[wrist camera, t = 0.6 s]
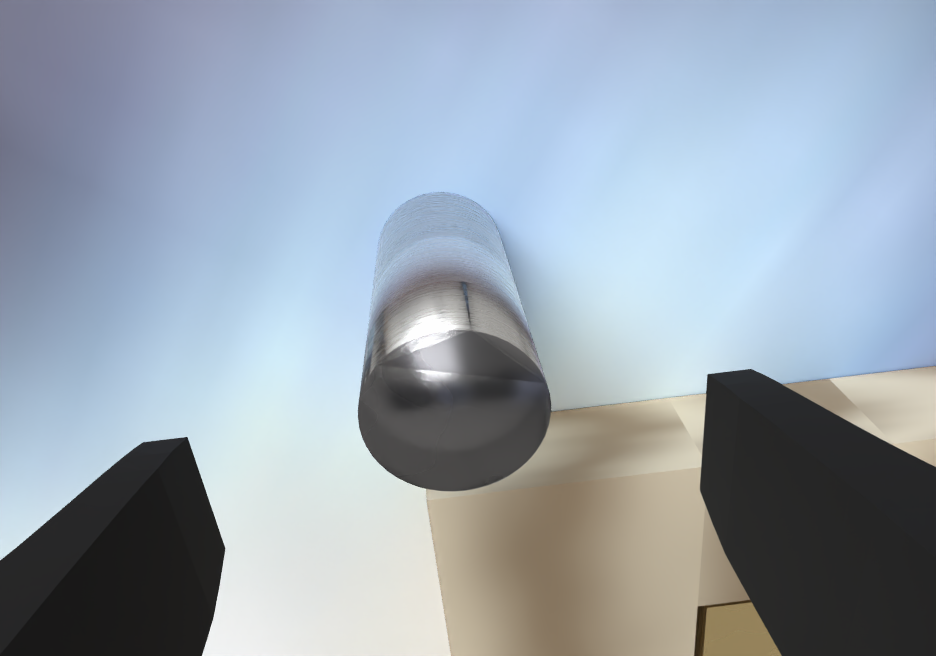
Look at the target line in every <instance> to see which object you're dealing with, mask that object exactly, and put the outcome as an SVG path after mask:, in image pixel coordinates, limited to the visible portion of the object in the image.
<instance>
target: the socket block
mask: <svg viewBox="0 0 936 656" xmlns="http://www.w3.org/2000/svg"><path fill="white" fill-rule="evenodd" d="M782 385H784V386H786V387H788V388H789V389H791V390H793V391H795V392H797V393H799V394H800V395H802V396H804V397H806V398H808V399H809V400H811V401H813V402H815V403H816V404H818V405H820V406H822V407H824V408H825V409H827V410H829V411H831V412H833V413H834V414H836V415H838V416H840V417H842V418H843V419H845V420H847V421H849V422H851V423H853V424H854V425H856V426H858V427H860V428H862V429H864V430H865V431H867V432H869V433H871V434H873V435H875V436H877V437H878V438H880V439H882V440H884V441H886V442H888V443H890V444H892V445H894V446H895V447H897V448H899V449H901V450H903V451H905V452H907V453H909V454H911V455H913V456H915V457H917V458H919V459H921V460H923V461H925V462H927V463H929V464H931V465H933V466H935V467H936V366H932V367H923V368H915V369H907V370H898V371H890V372H882V373H873V374H865V375H856V376H848V377H840V378H831V379H823V380H815V381H806V382H798V383H789V384H782ZM705 405H706V394H697V395H689V396H680V397H672V398H664V399H655V400H647V401H639V402H630V403H622V404H613V405H605V406H597V407H588V408H580V409H572V410H563V411H555V412H551V416H550V422H549V426H548V429H547V432H546V435H545V437H544V439H543V441H542V443H541V445H540V446H539V448H538V449H537V451H536V452H535V453H534V455H533V456H532V457H531V458H530V459H529V460H528V461H527V462H526V463H525V464H524V465H523V466H522V467H520V468H519V469H518V470H517V471H515V472H514V473H512V474H511V475H509V476H507V477H506V478H504V479H502V480H500V481H498V482H495V483H493V484H490V485H488V486H484V487H481V488H477V489H472V490H466V491H437V490H430V489H426V498H427V506H428V513H429V519H430V525H431V532H432V538H433V544H434V551H435V557H436V563H437V570H438V576H439V582H440V588H441V595H442V601H443V607H444V614H445V620H446V626H447V633H448V639H449V645H450V652H451V656H694V649H695V635H696V622H697V608H698V606H705V605H713V604H721V603H729V602H737V601H745V600H750V598H749V597H748V595H747V593H746V591H745V589H744V588H743V586H742V584H741V582H740V580H739V579H738V577H737V575H736V573H735V571H734V570H733V568H732V566H731V564H730V562H729V560H728V558H727V557H726V555H725V553H724V550H723V548H722V545H721V543H720V541H719V538H718V536H717V533H716V531H715V528H714V526H713V524H712V521H711V518H710V516H709V513H708V510H707V508H706V505H705V503H704V500H703V497H702V495H701V492H700V477H701V463H702V448H703V434H704V420H705Z"/></svg>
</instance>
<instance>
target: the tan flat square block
mask: <svg viewBox="0 0 936 656" xmlns="http://www.w3.org/2000/svg"><path fill="white" fill-rule="evenodd" d="M694 656H782V655H781V654H780V652H779V650H778V648H777V647H776V645H775V643H774V641H773V639H772V638H771V636H770V634H769V632H768V631H767V629H766V627H765V625H764V623H763V622H762V620H761V618H760V616H759V615H758V613H757V611H756V609H755V607H754V606H753V604H752V602H751V600H745V601H737V602H729V603H721V604H713V605H705V606H698V608H697V622H696V635H695V649H694Z"/></svg>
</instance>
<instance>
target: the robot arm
mask: <svg viewBox="0 0 936 656" xmlns="http://www.w3.org/2000/svg"><path fill="white" fill-rule="evenodd" d="M700 492H701V495H702V497H703V500H704V503H705V505H706V508H707V510H708V513H709V516H710V518H711V521H712V524H713V526H714V528H715V531H716V533H717V536H718V538H719V541H720V543H721V545H722V548H723V550H724V553H725V555H726V557H727V558H728V560H729V562H730V564H731V566H732V568H733V570H734V571H735V573H736V575H737V577H738V579H739V580H740V582H741V584H742V586H743V588H744V589H745V591H746V593H747V595H748V597H749V598H750V600H751V602H752V604H753V606H754V607H755V609H756V611H757V613H758V615H759V616H760V618H761V620H762V622H763V623H764V625H765V627H766V629H767V631H768V632H769V634H770V636H771V638H772V639H773V641H774V643H775V645H776V647H777V648H778V650H779V652H780V654H781V655H782V656H936V467H935V466H933V465H931V464H929V463H927V462H925V461H923V460H921V459H919V458H917V457H915V456H913V455H911V454H909V453H907V452H905V451H903V450H901V449H899V448H897V447H895V446H894V445H892V444H890V443H888V442H886V441H884V440H882V439H880V438H878V437H877V436H875V435H873V434H871V433H869V432H867V431H865V430H864V429H862V428H860V427H858V426H856V425H854V424H853V423H851V422H849V421H847V420H845V419H843V418H842V417H840V416H838V415H836V414H834V413H833V412H831V411H829V410H827V409H825V408H824V407H822V406H820V405H818V404H816V403H815V402H813V401H811V400H809V399H808V398H806V397H804V396H802V395H800V394H799V393H797V392H795V391H793V390H791V389H789V388H788V387H786V386H784V385H782V384H780V383H778V382H776V381H775V380H773V379H771V378H769V377H767V376H765V375H763V374H761V373H759V372H756V371H754V370H752V369H748V370H739V371H731V372H723V373H715V374H708V376H707V391H706V405H705V420H704V434H703V448H702V463H701V477H700ZM224 554H225V546H224V543H223V540H222V538H221V535H220V532H219V529H218V526H217V523H216V520H215V517H214V514H213V511H212V508H211V505H210V502H209V499H208V496H207V493H206V490H205V488H204V485H203V482H202V479H201V476H200V473H199V470H198V467H197V464H196V461H195V458H194V455H193V452H192V449H191V446H190V443H189V441H188V438H187V437H184V438H176V439H167V440H159V441H151V442H143V443H141V444H140V445H139V446H137V447H136V448H135V449H133V450H132V451H131V452H129V453H128V454H127V455H125V456H124V457H123V458H122V459H120V460H119V461H118V462H117V463H116V464H114V465H113V466H112V467H111V468H110V469H108V470H107V471H106V472H105V473H104V474H102V475H101V476H100V477H99V478H98V479H97V480H95V481H94V482H93V483H92V484H91V485H90V486H88V487H87V488H86V489H85V490H84V491H83V492H81V493H80V494H79V495H78V496H77V497H76V498H74V499H73V500H72V501H71V502H70V503H69V504H67V505H66V506H65V507H64V508H63V509H62V510H60V511H59V512H58V513H57V514H56V515H54V516H53V517H52V518H51V519H50V520H49V521H47V522H46V523H45V524H44V525H43V526H41V527H40V528H39V529H38V530H37V531H36V532H34V533H33V534H32V535H31V536H30V537H29V538H27V539H26V540H25V541H24V542H23V543H21V544H20V545H19V546H18V547H17V548H15V549H14V550H13V551H12V552H10V553H9V554H8V555H7V556H5V557H4V558H3V559H2V560H0V656H202V653H203V650H204V647H205V644H206V641H207V637H208V634H209V631H210V627H211V624H212V621H213V617H214V612H215V606H216V601H217V596H218V590H219V585H220V579H221V572H222V566H223V560H224Z"/></svg>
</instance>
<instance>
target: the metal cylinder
mask: <svg viewBox="0 0 936 656" xmlns="http://www.w3.org/2000/svg"><path fill="white" fill-rule="evenodd" d="M550 416H551V400H550V393H549V390H548V386H547V383H546V380H545V377H544V374H543V370H542V367H541V364H540V361H539V358H538V355H537V351H536V348H535V345H534V342H533V339H532V336H531V332H530V329H529V326H528V323H527V320H526V317H525V313H524V310H523V307H522V304H521V301H520V298H519V294H518V291H517V288H516V285H515V282H514V279H513V275H512V272H511V269H510V266H509V263H508V260H507V256H506V253H505V250H504V247H503V244H502V241H501V237H500V234H499V231H498V229H497V227H496V224H495V223H494V221H493V219H492V218H491V216H490V215H489V214H488V213H487V212H486V211H485V210H484V209H483V208H482V207H481V206H480V205H478V204H477V203H475V202H474V201H472V200H470V199H468V198H466V197H463V196H461V195H458V194H453V193H445V192H435V193H428V194H423V195H420V196H417V197H415V198H413V199H410V200H408V201H407V202H405V203H404V204H402V205H401V206H400V207H399V208H397V209H396V210H395V211H394V212H393V213H392V215H391V216H390V217H389V218H388V220H387V221H386V223H385V225H384V227H383V229H382V232H381V235H380V238H379V243H378V251H377V259H376V267H375V275H374V283H373V291H372V300H371V308H370V316H369V324H368V332H367V340H366V348H365V357H364V365H363V373H362V381H361V389H360V397H359V405H358V420H359V428H360V431H361V435H362V438H363V440H364V442H365V444H366V447H367V448H368V450H369V451H370V453H371V454H372V456H373V457H374V458H375V459H376V460H377V462H378V463H379V464H380V465H381V466H383V467H384V468H385V469H386V470H387V471H388V472H390V473H391V474H393V475H394V476H396V477H397V478H399V479H401V480H403V481H405V482H407V483H410V484H412V485H415V486H418V487H422V488H426V489H430V490H437V491H466V490H472V489H477V488H481V487H484V486H488V485H490V484H493V483H495V482H498V481H500V480H502V479H504V478H506V477H507V476H509V475H511V474H512V473H514V472H515V471H517V470H518V469H519V468H520V467H522V466H523V465H524V464H525V463H526V462H527V461H528V460H529V459H530V458H531V457H532V456H533V455H534V453H535V452H536V451H537V449H538V448H539V446H540V445H541V443H542V441H543V439H544V437H545V435H546V432H547V429H548V426H549V422H550Z"/></svg>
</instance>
